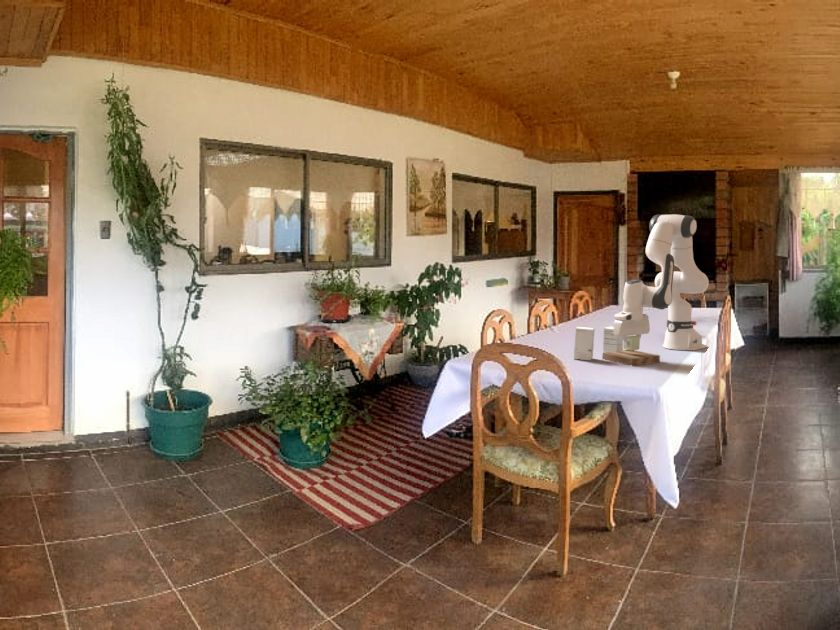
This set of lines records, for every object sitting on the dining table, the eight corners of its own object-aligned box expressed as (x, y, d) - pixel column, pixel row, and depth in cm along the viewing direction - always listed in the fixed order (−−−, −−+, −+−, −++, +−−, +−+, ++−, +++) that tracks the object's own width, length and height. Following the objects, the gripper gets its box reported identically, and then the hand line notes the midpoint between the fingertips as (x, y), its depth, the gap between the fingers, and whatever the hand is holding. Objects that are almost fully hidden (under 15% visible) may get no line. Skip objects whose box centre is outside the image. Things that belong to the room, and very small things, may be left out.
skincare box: (573, 359, 331) (574, 328, 329) (575, 357, 336) (576, 326, 334) (591, 360, 328) (592, 329, 326) (593, 358, 333) (594, 327, 331)
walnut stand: (629, 355, 340) (629, 349, 340) (659, 361, 325) (659, 355, 324) (602, 359, 331) (602, 352, 331) (631, 365, 316) (632, 359, 315)
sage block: (631, 347, 331) (631, 335, 330) (639, 349, 326) (639, 336, 326) (623, 348, 328) (623, 335, 327) (631, 350, 324) (632, 337, 323)
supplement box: (608, 351, 352) (609, 326, 350) (623, 352, 347) (624, 327, 346) (602, 353, 346) (603, 327, 345) (616, 355, 342) (617, 329, 340)
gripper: (643, 312, 333) (641, 341, 335) (611, 315, 323) (610, 345, 324) (653, 314, 328) (652, 343, 329) (622, 317, 317) (620, 347, 319)
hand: (631, 344), depth 327 cm, fingers closed on sage block, 5 cm apart
